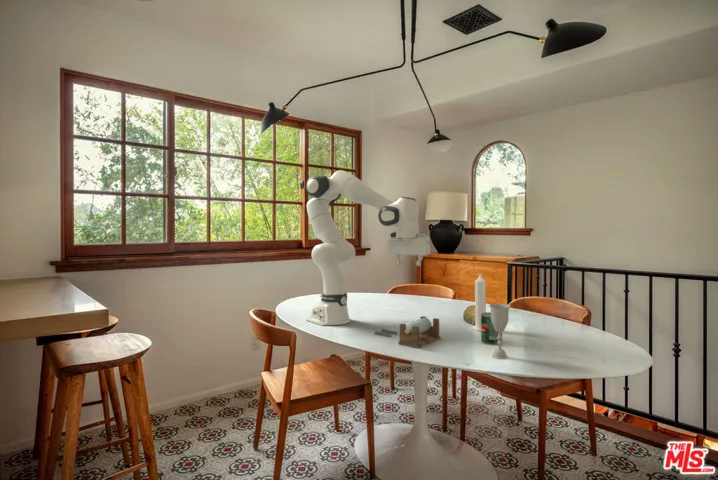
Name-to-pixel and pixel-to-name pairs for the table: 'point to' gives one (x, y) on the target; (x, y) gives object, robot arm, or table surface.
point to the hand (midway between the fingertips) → (409, 265)
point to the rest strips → (386, 332)
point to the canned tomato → (488, 330)
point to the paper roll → (422, 323)
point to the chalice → (499, 325)
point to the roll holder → (419, 335)
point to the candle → (479, 301)
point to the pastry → (469, 315)
